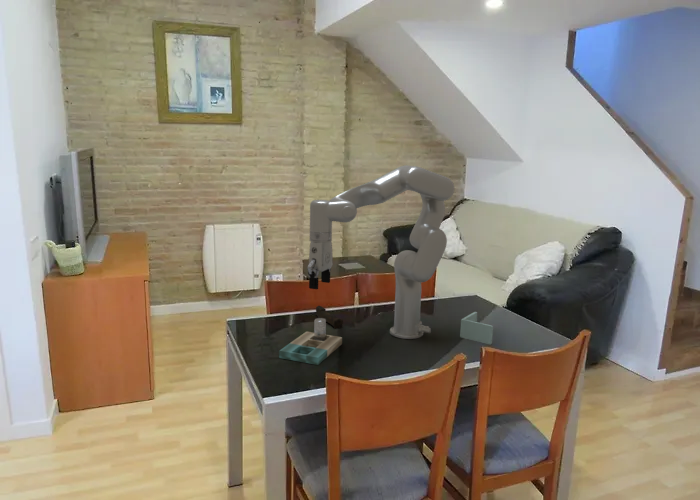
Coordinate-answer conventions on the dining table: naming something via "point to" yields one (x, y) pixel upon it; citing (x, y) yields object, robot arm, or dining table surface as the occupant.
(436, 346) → the dining table surface
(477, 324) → the right angle wall
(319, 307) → the hand tool
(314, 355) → the hole board
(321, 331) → the peg
